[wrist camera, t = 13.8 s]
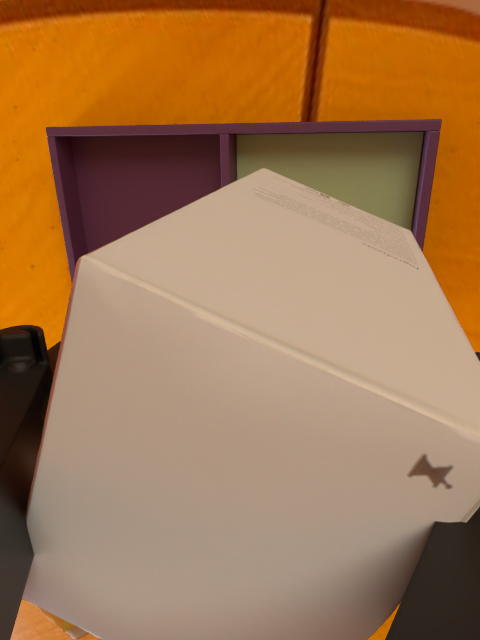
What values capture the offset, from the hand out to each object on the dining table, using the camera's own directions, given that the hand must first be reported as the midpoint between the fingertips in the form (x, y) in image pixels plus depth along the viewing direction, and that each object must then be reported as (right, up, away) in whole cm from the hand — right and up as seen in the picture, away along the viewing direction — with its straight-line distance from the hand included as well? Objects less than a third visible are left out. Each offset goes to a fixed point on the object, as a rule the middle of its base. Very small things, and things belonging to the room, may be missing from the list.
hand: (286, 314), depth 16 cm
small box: (+1, +1, +3) cm, 3 cm away
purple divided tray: (-2, +7, +17) cm, 19 cm away
